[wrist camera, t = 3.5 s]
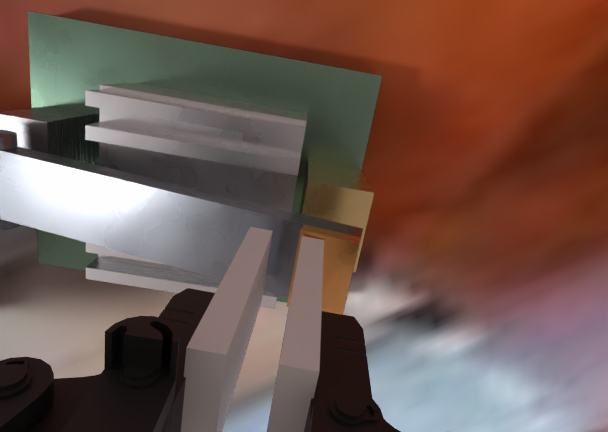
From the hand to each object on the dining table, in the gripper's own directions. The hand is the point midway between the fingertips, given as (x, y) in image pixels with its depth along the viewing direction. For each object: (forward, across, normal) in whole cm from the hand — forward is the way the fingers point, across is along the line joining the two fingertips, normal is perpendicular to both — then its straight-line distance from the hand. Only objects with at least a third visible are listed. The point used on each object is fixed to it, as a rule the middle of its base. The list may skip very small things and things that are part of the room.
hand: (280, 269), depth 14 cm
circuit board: (+11, -6, 0) cm, 13 cm away
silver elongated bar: (+3, -5, 0) cm, 6 cm away
